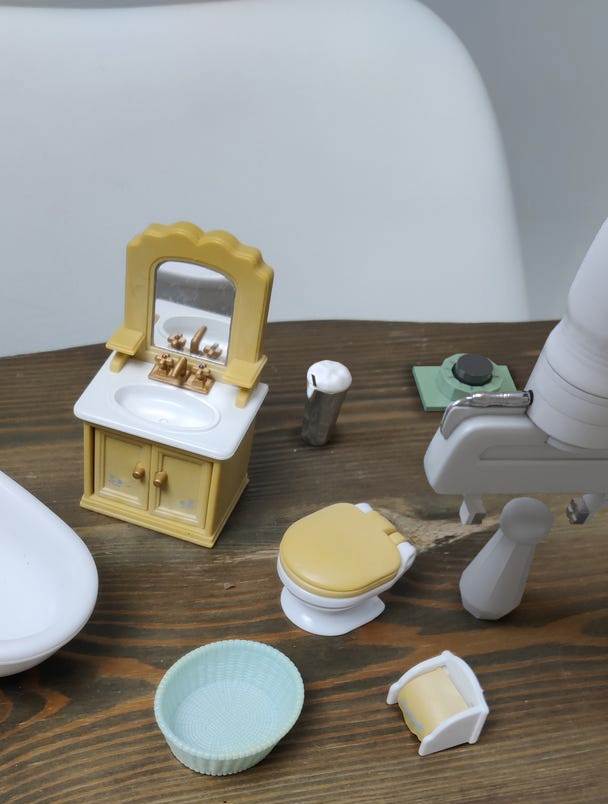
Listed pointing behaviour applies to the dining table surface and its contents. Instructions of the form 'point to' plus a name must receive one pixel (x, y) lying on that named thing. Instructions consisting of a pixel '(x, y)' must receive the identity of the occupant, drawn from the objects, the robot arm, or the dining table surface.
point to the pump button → (473, 369)
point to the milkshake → (324, 400)
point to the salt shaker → (505, 560)
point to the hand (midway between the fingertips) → (522, 519)
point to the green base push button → (454, 384)
